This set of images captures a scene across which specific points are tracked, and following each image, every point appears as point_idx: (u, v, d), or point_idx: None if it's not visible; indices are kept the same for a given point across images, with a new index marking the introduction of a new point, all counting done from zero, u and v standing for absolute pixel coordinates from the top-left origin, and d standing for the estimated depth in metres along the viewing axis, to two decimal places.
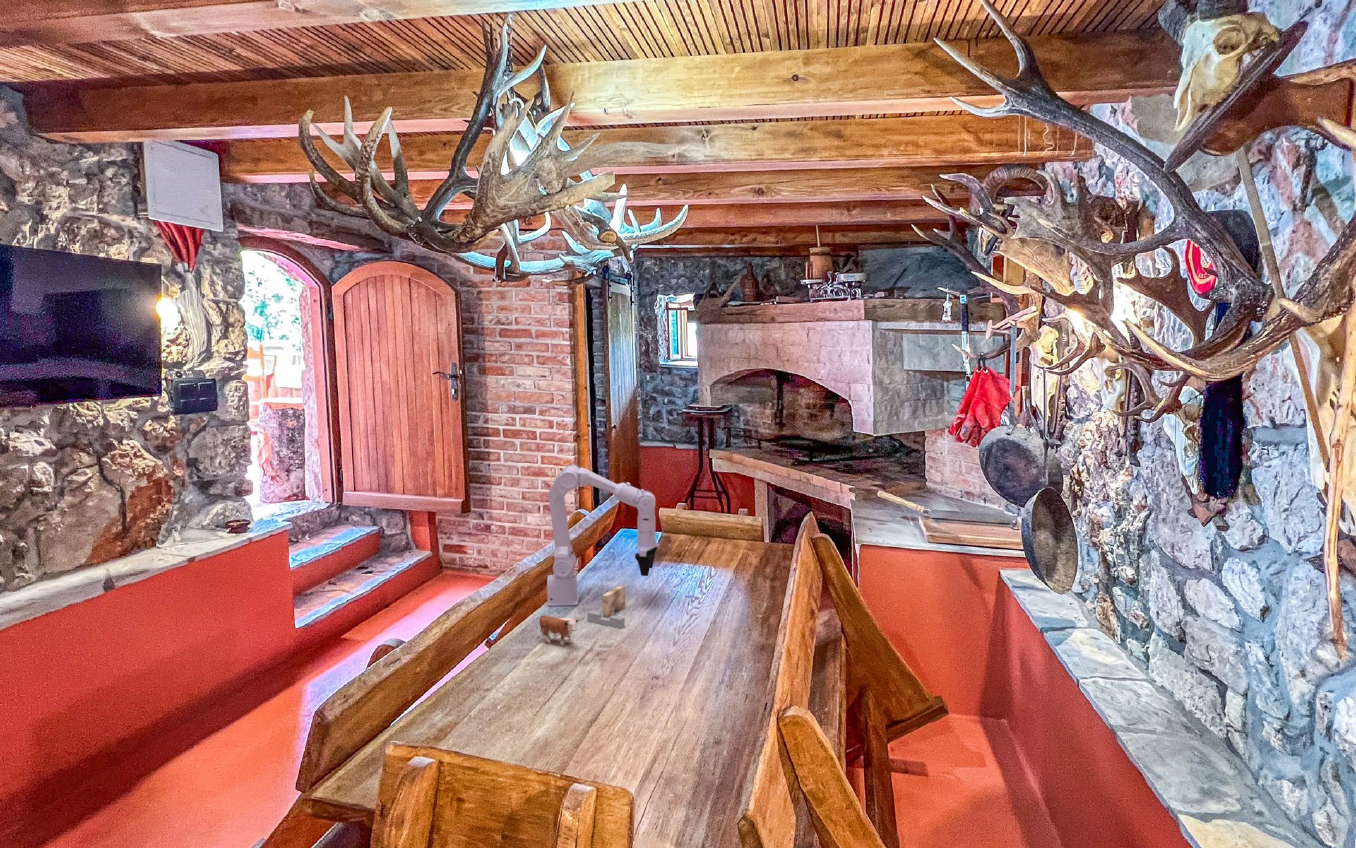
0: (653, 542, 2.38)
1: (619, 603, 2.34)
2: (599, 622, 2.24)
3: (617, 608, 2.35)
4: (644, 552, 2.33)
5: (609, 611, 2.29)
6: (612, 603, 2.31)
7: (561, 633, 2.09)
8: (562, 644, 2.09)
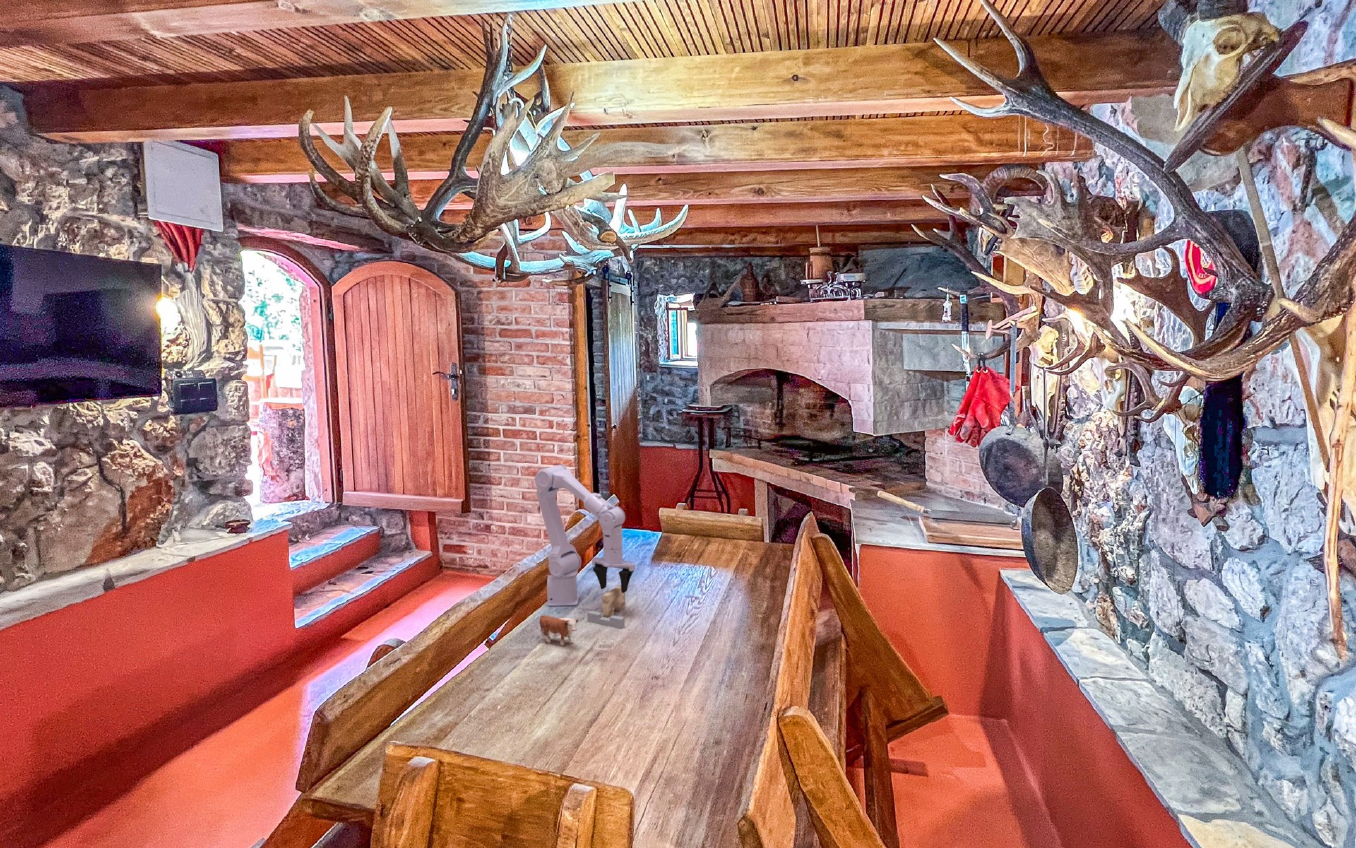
0: (604, 559, 2.30)
1: (619, 603, 2.34)
2: (599, 622, 2.24)
3: (617, 608, 2.35)
4: None
5: (609, 611, 2.29)
6: (612, 603, 2.31)
7: (561, 633, 2.09)
8: (562, 644, 2.09)
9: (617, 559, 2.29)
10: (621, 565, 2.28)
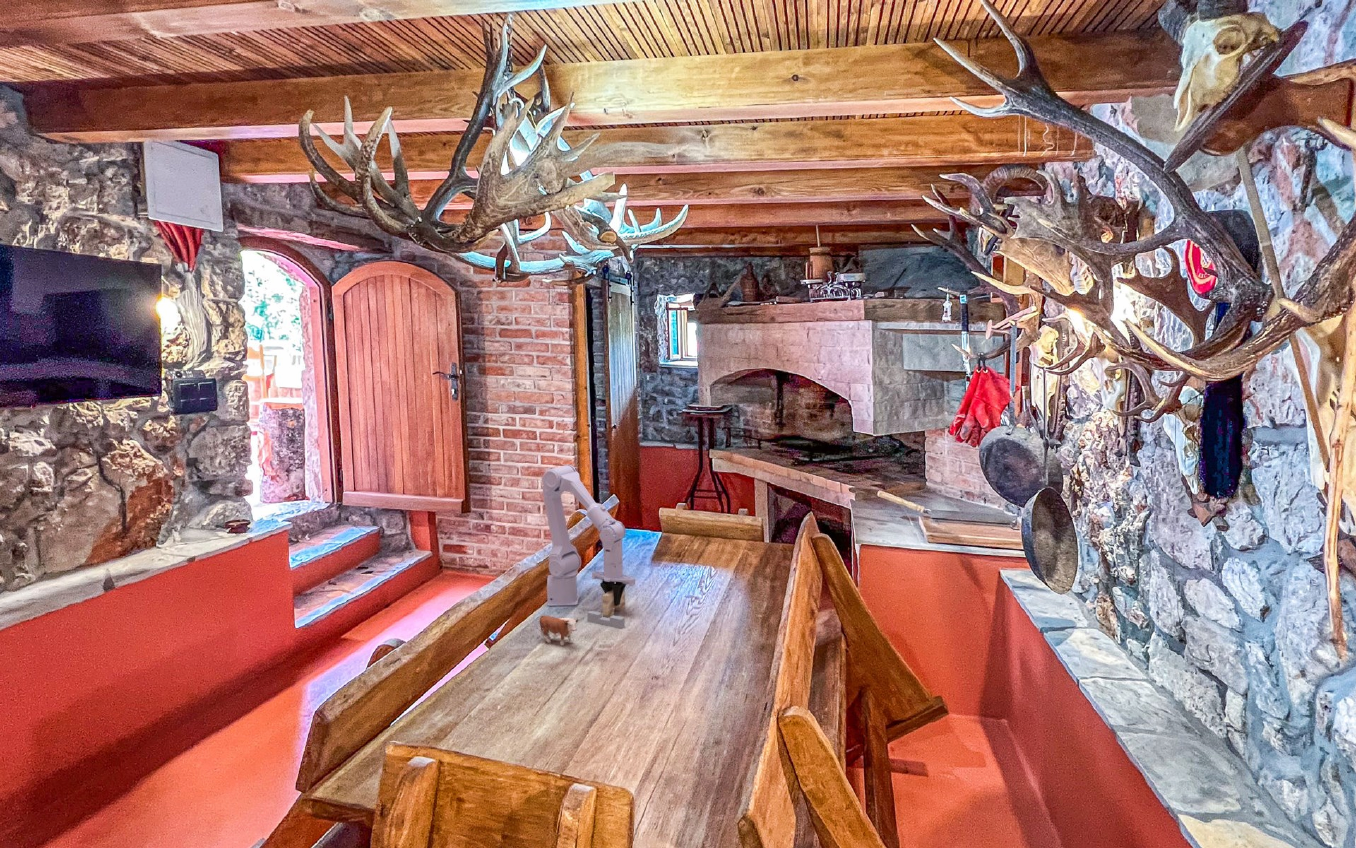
0: (605, 574, 2.30)
1: None
2: (599, 622, 2.24)
3: (617, 608, 2.35)
4: None
5: (609, 611, 2.29)
6: (612, 603, 2.31)
7: (561, 633, 2.09)
8: (562, 644, 2.09)
9: (618, 573, 2.29)
10: (621, 580, 2.29)
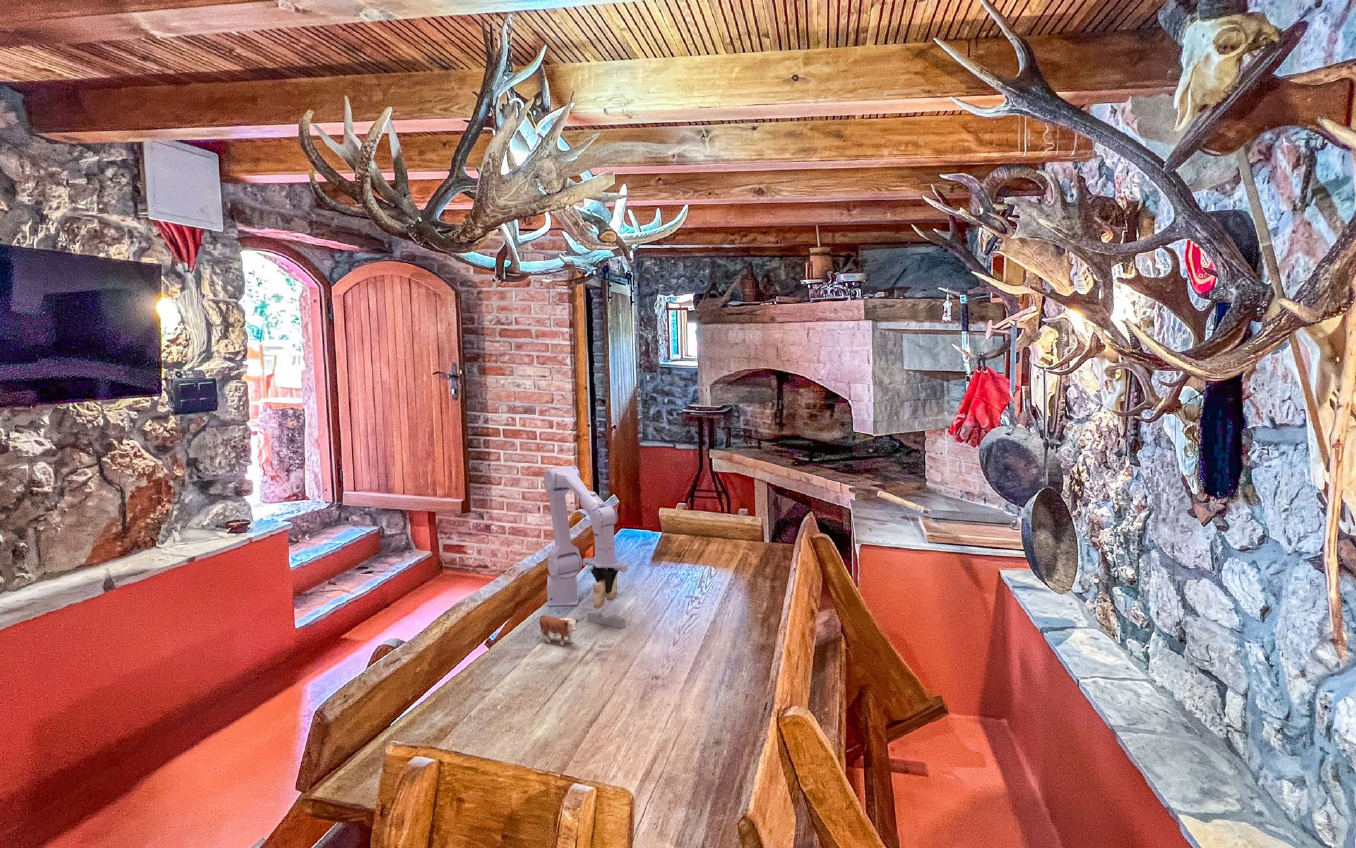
0: (596, 560, 2.21)
1: (611, 593, 2.25)
2: (599, 622, 2.24)
3: (609, 598, 2.25)
4: None
5: (600, 601, 2.20)
6: (603, 593, 2.21)
7: (561, 633, 2.09)
8: (562, 644, 2.09)
9: (609, 559, 2.20)
10: (613, 566, 2.19)
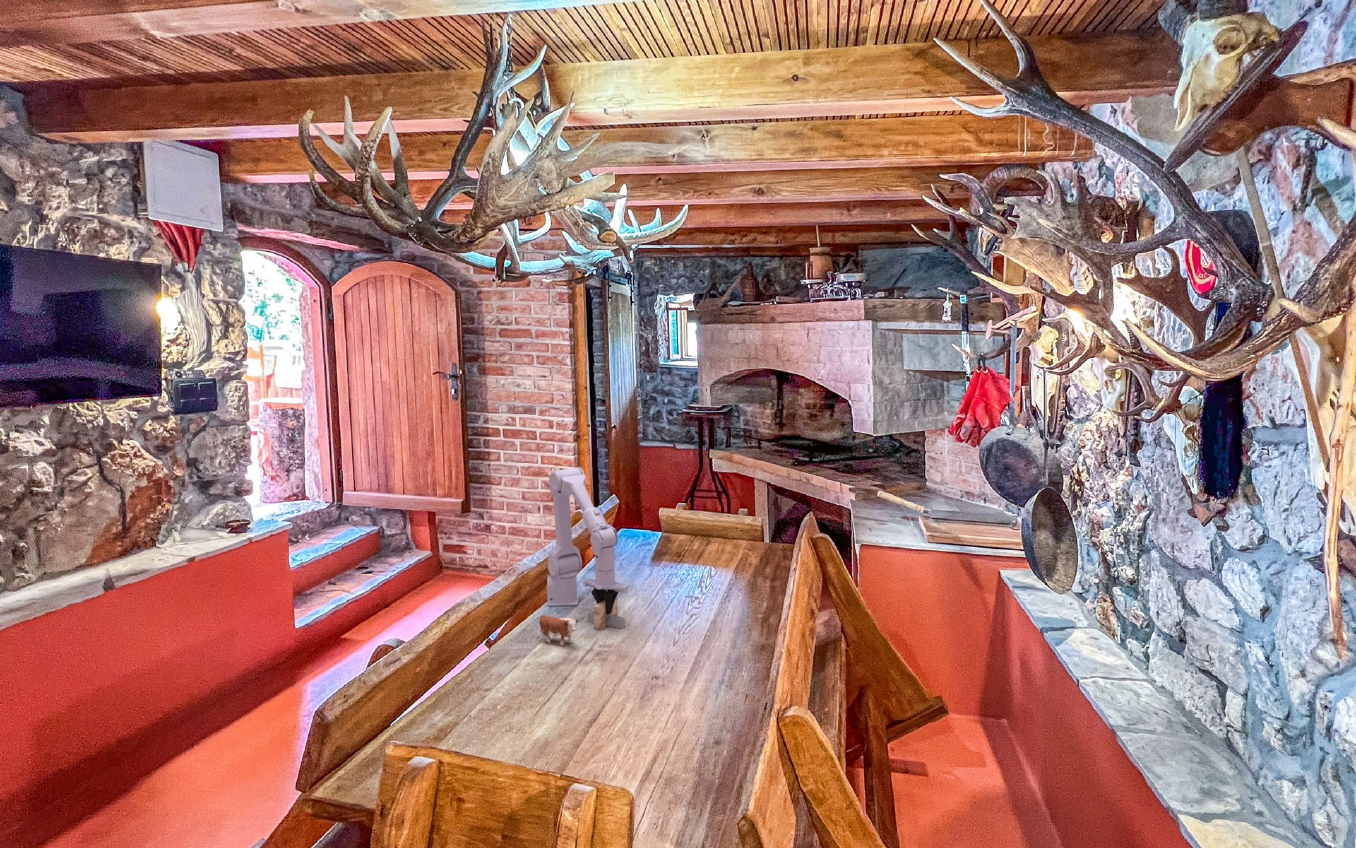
0: (596, 581, 2.21)
1: (611, 614, 2.25)
2: None
3: None
4: None
5: (601, 623, 2.20)
6: (604, 614, 2.22)
7: (561, 633, 2.09)
8: (562, 644, 2.09)
9: (609, 581, 2.20)
10: (613, 587, 2.19)
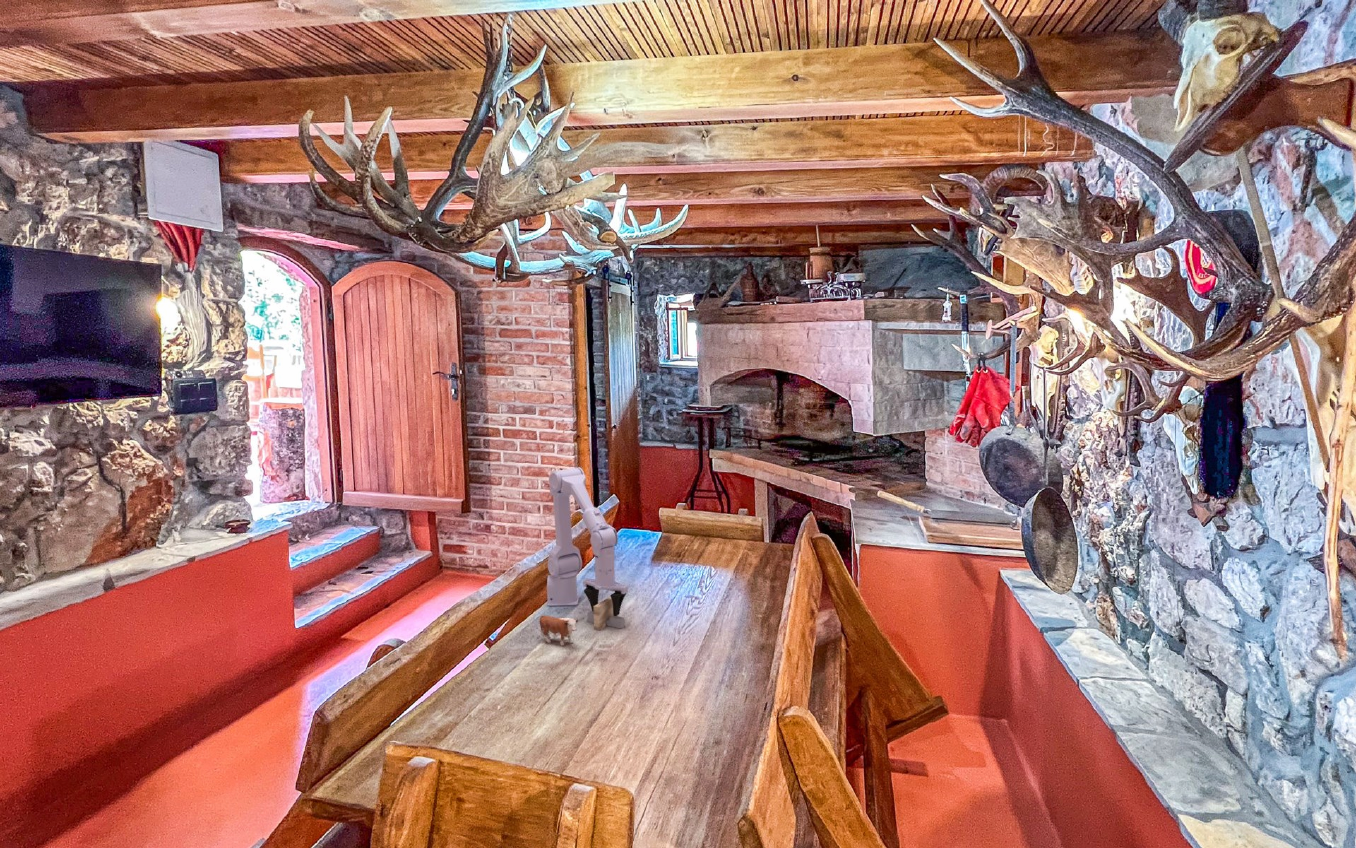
0: (596, 581, 2.21)
1: (611, 614, 2.25)
2: None
3: None
4: None
5: (601, 623, 2.20)
6: (604, 614, 2.22)
7: (561, 633, 2.09)
8: (562, 644, 2.09)
9: (609, 581, 2.20)
10: (613, 587, 2.19)
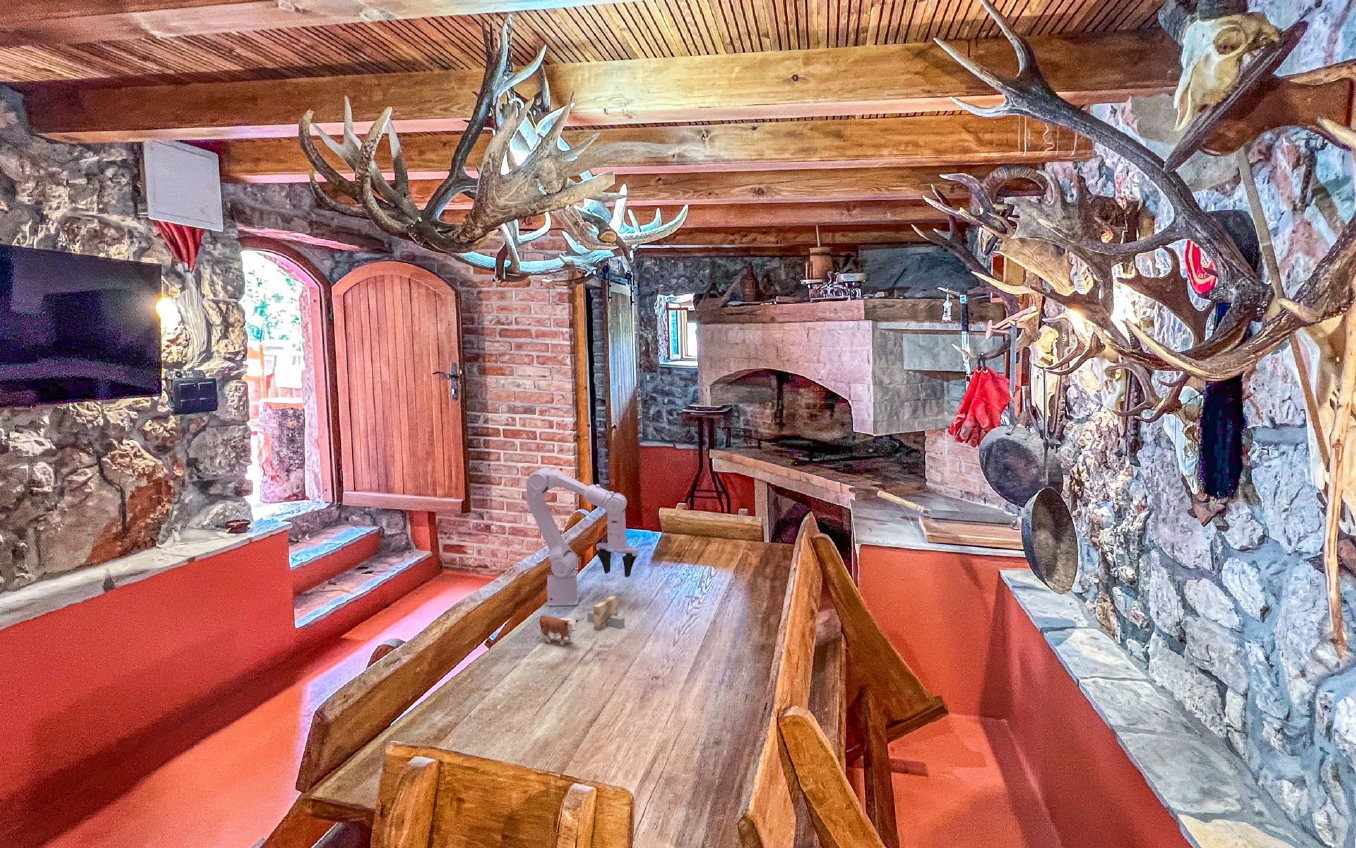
0: (608, 544, 2.36)
1: (611, 614, 2.25)
2: None
3: None
4: None
5: (601, 623, 2.20)
6: (604, 614, 2.22)
7: (561, 633, 2.09)
8: (562, 644, 2.09)
9: (621, 544, 2.35)
10: (624, 550, 2.34)
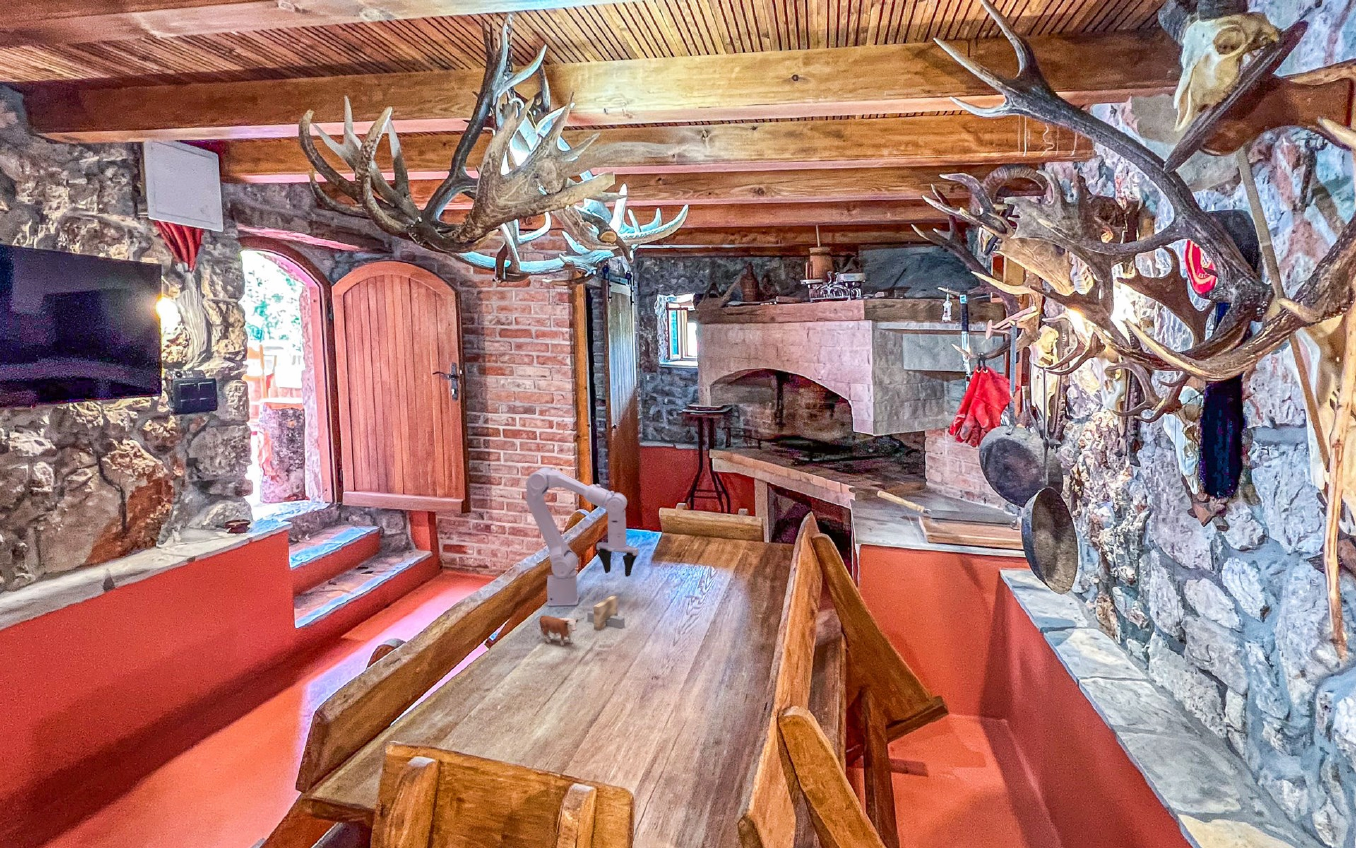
0: (609, 544, 2.36)
1: (611, 614, 2.25)
2: None
3: None
4: None
5: (601, 623, 2.20)
6: (604, 614, 2.22)
7: (561, 633, 2.09)
8: (562, 644, 2.09)
9: (621, 543, 2.35)
10: (625, 549, 2.35)
